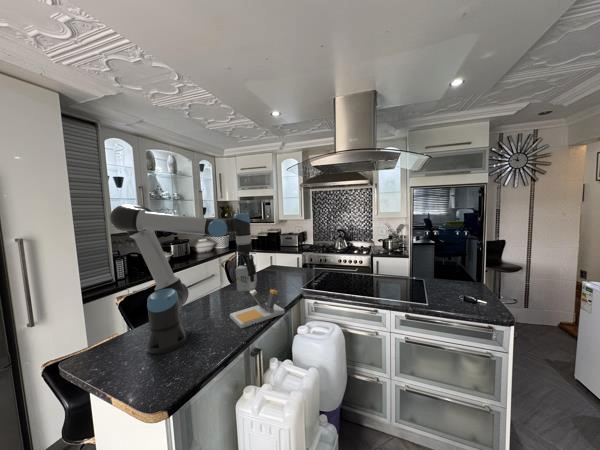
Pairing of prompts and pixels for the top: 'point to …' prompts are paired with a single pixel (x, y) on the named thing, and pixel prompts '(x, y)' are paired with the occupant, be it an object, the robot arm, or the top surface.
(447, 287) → the top surface
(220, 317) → the top surface
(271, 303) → the tagged breaker
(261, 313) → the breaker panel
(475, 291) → the top surface
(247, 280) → the ink box
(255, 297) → the plain breaker
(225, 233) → the robot arm
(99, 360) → the top surface
